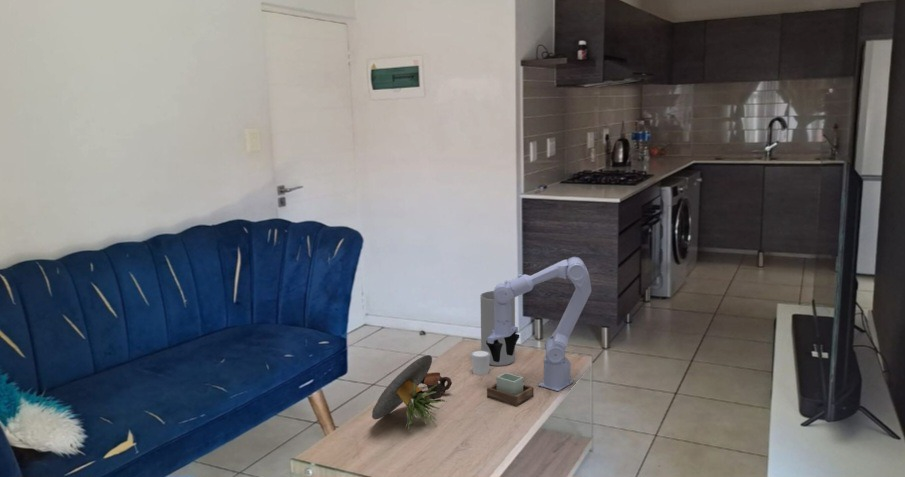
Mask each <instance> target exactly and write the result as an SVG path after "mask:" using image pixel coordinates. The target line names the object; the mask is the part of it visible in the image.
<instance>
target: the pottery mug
mask: <svg viewBox="0 0 905 477" xmlns="http://www.w3.org/2000/svg"><path fill="white" fill-rule="evenodd" d="M452 383H453V382H452V379H451V378H450V377H449V376H443V377H442V376H441V373H440V372H428V373H427V374H426V376H425V377H424V378H423V380H422V381H421V383H420V384H419V385H421V384H422V385H426V387H427V390H428V389H429V388H431V387H433V386H434V385H437V386H435V387H434V388H433V389H432V390H430V391H429V392H428V393H431V392H436V393H432V394H429V395H427V397H423V398H430V399H434V398H435V399H436V398H441V397H442V394H445V392H446V391H448V390H449V389H450V388H451V386H452ZM426 394H427V393H426Z"/></svg>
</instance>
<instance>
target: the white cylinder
mask: <svg viewBox="0 0 905 477" xmlns="http://www.w3.org/2000/svg"><path fill="white" fill-rule="evenodd" d="M470 358H471V366H472V367H471V368H472V374H474V375H477V376H485V375H486V376H487V375H488V374H489V371H490V365H489V361H490V353H489V352H487V351H481V350H475V351H472V352H470Z"/></svg>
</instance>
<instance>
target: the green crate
mask: <svg viewBox="0 0 905 477" xmlns="http://www.w3.org/2000/svg"><path fill="white" fill-rule="evenodd" d="M496 383H497V390H498V391H502V392H505V393H508V394H511V395H515V396H516V395H518V394H520V393H522V392H523V385H524V377H523V376H519V375H516V374H512V373H508V372H504V373H502V374H500V375H498V376H496Z"/></svg>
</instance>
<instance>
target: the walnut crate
mask: <svg viewBox="0 0 905 477" xmlns="http://www.w3.org/2000/svg"><path fill="white" fill-rule="evenodd" d="M486 397H487V399H490V400H494V401H497V402H500V403H503V404H507V405H510V406H513V407H518V406H521V405H522V404H524V403H525V402H528V401H529V400H530V399H532V398H534V387H533V386H530V385H526V384H523V392H522V393H520V394H518V395H516V396H515V395H511V394H508V393H505V392H502V391H498V390H497V382H496V383H494V384H492V385H491V386H488V387H486Z"/></svg>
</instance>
